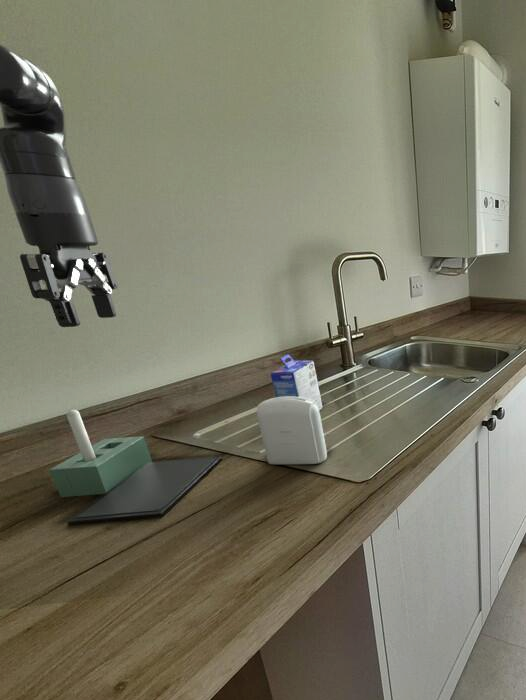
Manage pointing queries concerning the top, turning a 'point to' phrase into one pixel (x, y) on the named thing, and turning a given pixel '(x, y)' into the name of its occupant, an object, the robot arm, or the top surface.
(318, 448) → the photo printer
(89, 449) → the stylus
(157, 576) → the top surface
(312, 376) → the ink cartridge box
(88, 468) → the pen stand
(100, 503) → the tablet
